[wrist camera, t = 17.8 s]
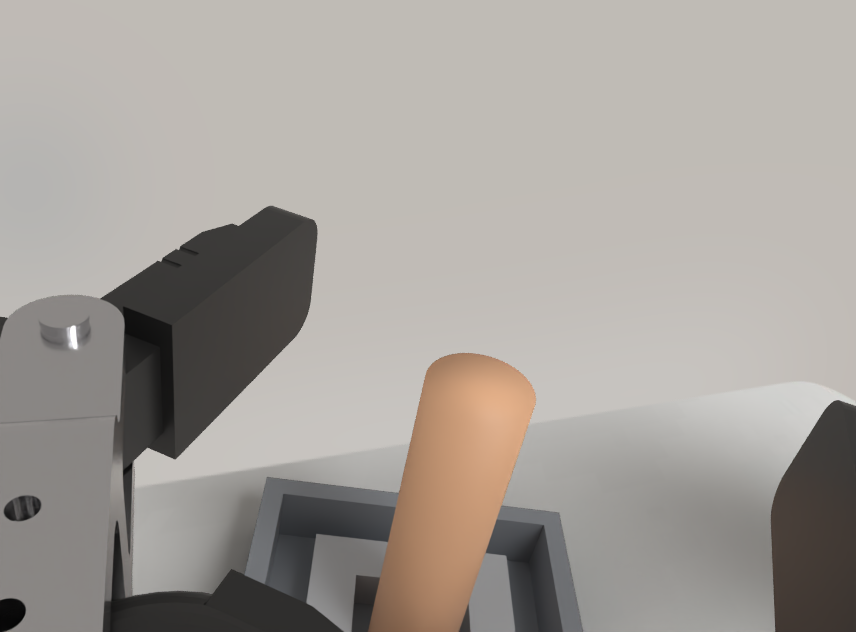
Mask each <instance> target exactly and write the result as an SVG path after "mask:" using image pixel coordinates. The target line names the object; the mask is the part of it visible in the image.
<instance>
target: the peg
mask: <svg viewBox="0 0 856 632" xmlns="http://www.w3.org/2000/svg"><path fill="white" fill-rule="evenodd" d="M535 403H536V396H535V392H534V389H533V387H532V385H531V384H530V382H529V381H528V380H527V378H526V377H525V376H524V375H523V374H521V373H520V372H519V371H518V370H516V369H515V368H514V367H512V366H510V365H509V364H507V363H505V362H503V361H500V360H498V359H495V358H492V357H489V356H485V355H480V354H473V353H458V354H452V355H448V356H444V357H442V358H440V359H438V360H436V361H435V362H434V363H432V365H431V366H430V367H429V368H428V370H427V372H426V376H425V380H424V384H423V388H422V393H421V397H420V402H419V406H418V411H417V416H416V420H415V424H414V429H413V434H412V438H411V442H410V446H409V451H408V455H407V460H406V464H405V469H404V473H403V478H402V482H401V487H400V491H399V495H398V500H397V504H396V509H395V513H394V518H393V522H392V527H391V531H390V536H389V540H388V544H387V549H386V553H385V558H384V562H383V567H382V571H381V576H380V580H379V585H378V589H377V594H376V598H375V602H374V607H373V611H372V616H371V620H370V625H369V629H368V632H459V630H460V627H461V624H462V621H463V618H464V615H465V612H466V609H467V606H468V603H469V600H470V597H471V594H472V591H473V588H474V585H475V582H476V579H477V576H478V573H479V570H480V567H481V564H482V561H483V558H484V555H485V553H486V550H487V547H488V544H489V541H490V538H491V535H492V532H493V529H494V526H495V523H496V520H497V517H498V514H499V511H500V508H501V505H502V502H503V499H504V496H505V493H506V490H507V487H508V484H509V481H510V478H511V475H512V472H513V469H514V466H515V463H516V460H517V457H518V454H519V451H520V448H521V446H522V443H523V440H524V437H525V434H526V431H527V428H528V425H529V422H530V419H531V416H532V413H533V410H534V407H535Z"/></svg>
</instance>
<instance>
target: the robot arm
mask: <svg viewBox="0 0 856 632" xmlns="http://www.w3.org/2000/svg"><path fill="white" fill-rule="evenodd" d="M316 243H317V225H316V223H315V221H314V220H312V219H309V218H306V217H303V216H301V215H297V214H295V213H292V212H289V211H285V210H283V209H280V208H277V207H274V206H268V207H266V208H264V209H263V210H261V211H260V212H259V213H257V214H256V215H254V216H253V217H251V218H250V219H249V220H247V221H245V222H244V223H243V224H241V225H240V226H237V225H234V224H229V225H226V226H223V227H219V228H216V229H212V230H208V231H205V232H202V233H200V234H199V235H197V236H195V237H194V238H192V239H191V240H190V241H188V242H186V243H185V244H183V245H182V246H180V249H179V250H177V249H176V250H174V251H172V252H171V253H169V254H168V255H167V256H165V257H163V259H162V261H161V262H160V261H157V262H156V263H154V264H153V265H151V266H150V267H148V268H146V269H145V270H143V271H142V272H140V273H139V274H137V275H136V276H134V277H133V278H131V279H130V280H128V281H127V282H125V283H123V284H122V285H120V286H119V287H117V288H116V289H114V290H113V291H112V292H110V293H108V294H107V295H105V296H104V297H102V298H101V299H99V298H94V297H90V296H83V295H60V296H52V297H47V298H43V299H39V300H36V301H34V302H31V303H29V304H27V305H24V306H22V307H21V308H19V309H18V310H16V311H15V312H14V313H13V314H11V315H10V316H9V318H5V317H0V632H344V631H343V630H341V629H340V628H339V627H338V626H336V625H335V624H334V623H333V622H331V621H330V620H329V619H328V618H327V617H325V616H324V615H323V614H322V613H320V612H319V611H318V610H317V609H315V608H314V607H313V606H311V605H309V604H307V603H305V602H302V601H300V600H298V599H296V598H294V597H291V596H289V595H287V594H285V593H283V592H281V591H278V590H276V589H274V588H272V587H270V586H267V585H265V584H263V583H261V582H259V581H256V580H254V579H252V578H250V577H248V576H245V575H243V574H241V573H239V572H237V571H235V570H232V569H231V570H230V572H229V573H228V574H227V576H226V577H225V578H224V580H223V581H222V582H221V584H220V585H219V586H218V588H217V589H216V591H215V592H214V593H213V594H209V593H203V592H188V591H171V592H155V593H148V594H142V595H135V596H133V595H132V565H133V523H134V481H135V479H134V478H135V471H134V460H135V459H136V458H137V457H138V456H139V455H140V454H141V453H142V452H143V451H144V450H145V449H146V448H147V447H148V448H150V449H152V450H154V451H157V452H159V453H161V454H164V455H166V456H168V457H171V458H173V459H176V458H177V457H178V456H179V455H180V454H181V453H182V452H183V451H184V450H185V449H186V448H187V447H188V446H189V445H190V444H191V443H192V442H193V441H194V440H195V439H196V438H197V437H198V436H199V435H200V434H201V433H202V432H203V431H204V430H205V429H206V428H207V427H208V426H209V425H210V424H211V423H212V422H213V421H214V419H216V418H217V417H218V416H219V414H220V413H221V412H222V411H223V410H224V409H225V408H226V407H227V406H228V405H229V404H230V403H231V402H232V401H233V400H234V399H235V398H236V397H237V396H238V395H239V394H240V393H241V392H242V391H243V390H244V389H245V388H246V387H247V386H248V385H249V384H250V383H251V382H252V381H253V380H254V379H255V378H256V377H257V375H259V373H260V372H262V371H263V369H264V368H265V367H266V366H267V365H268V364H269V363H270V362H271V361H272V360H273V359H274V358H275V357H276V356H277V355H278V354H279V353H280V352H281V351H282V350H283V349H284V348H285V347H286V346H287V345H288V344H289V343H290V342H291V341H292V340H293V339H294V338H295V337H296V335H297V334H298V333H299V331H300V330H301V328H302V326H303V324H304V322H305V319H306V317H307V314H308V310H309V307H310V302H311V293H312V283H313V273H314V263H315V253H316ZM771 535H772V559H773V584H774V608H775V632H856V406H854V405H851V404H848V403H845V402H842V401H839V400H836V401H834V402H832V403H831V404H830V405H829V406H828V407H827V408H826V409H825V411H824V412H823V414H822V415H821V417H820V418H819V420H818V422H817V423H816V425H815V426H814V428H813V430H812V431H811V433H810V434H809V436H808V437H807V439H806V441H805V442H804V444H803V445H802V447H801V449H800V450H799V452H798V453H797V455H796V457H795V458H794V460H793V461H792V463H791V465H790V466H789V468H788V469H787V471H786V472H785V474H784V476H783V478H782V479H781V481H780V483H779V486H778V488H777V491H776V494H775V497H774V501H773V505H772V511H771Z"/></svg>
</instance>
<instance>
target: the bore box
mask: <svg viewBox="0 0 856 632" xmlns="http://www.w3.org/2000/svg"><path fill="white" fill-rule="evenodd" d="M398 495H399V493H393V492H385V491H377V490H369V489H361V488H352V487H344V486H336V485H328V484H320V483H311V482H303V481H295V480H287V479H279V478H270V477H267V479H266V484H265V488H264V492H263V496H262V501H261V505H260V509H259V514H258V518H257V522H256V527H255V531H254V535H253V540H252V544H251V548H250V552H249V557H248V561H247V565H246V570H245V574H244V575H245V576H248V577H250V578H252V579H254V580H256V581H259V582H261V583H263V584H265V585H267V586H270V587H272V588H274V589H276V590H278V591H281V592H283V593H285V594H287V595H289V596H291V597H294V598H296V599H298V600H300V601H302V602H305V603H307V604H309V605H311V606H313V607H314V608H315V609H317V610H318V611H319V612H320V613H322V614H323V615H324V616H325V617H327V618H328V619H329V620H330V621H331V622H333V623H334V624H335V625H336V626H338V627H339V628H340V629H341V630H343V631H344V632H368V629H369V625H370V620H371V616H372V611H373V607H374V602H375V598H376V594H377V589H378V585H379V580H380V576H381V571H382V567H383V562H384V558H385V553H386V549H387V544H388V540H389V536H390V531H391V527H392V522H393V518H394V513H395V509H396V504H397V500H398ZM459 632H583V629H582V624H581V619H580V614H579V609H578V604H577V599H576V594H575V589H574V584H573V579H572V574H571V569H570V564H569V559H568V555H567V550H566V545H565V540H564V535H563V530H562V525H561V520H560V515H559V513H558V512H549V511H541V510H533V509H525V508H517V507H508V506H501V508H500V511H499V514H498V517H497V520H496V523H495V526H494V529H493V532H492V535H491V538H490V541H489V544H488V547H487V550H486V553H485V555H484V558H483V561H482V564H481V567H480V570H479V573H478V576H477V579H476V582H475V585H474V588H473V591H472V594H471V597H470V600H469V603H468V606H467V609H466V612H465V615H464V618H463V621H462V624H461V627H460V630H459Z"/></svg>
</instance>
